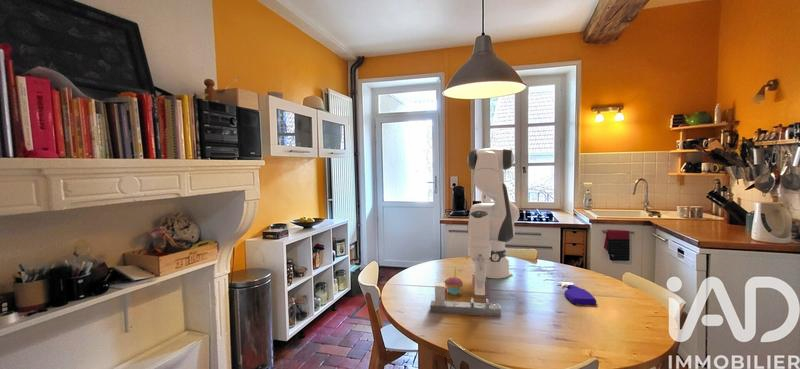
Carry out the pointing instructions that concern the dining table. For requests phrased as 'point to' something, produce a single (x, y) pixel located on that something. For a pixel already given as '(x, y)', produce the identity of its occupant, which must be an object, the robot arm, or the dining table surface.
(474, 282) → the finger block
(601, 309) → the dining table surface
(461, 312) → the rail
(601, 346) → the dining table surface
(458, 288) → the cupcake
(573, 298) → the purple flat bottle
